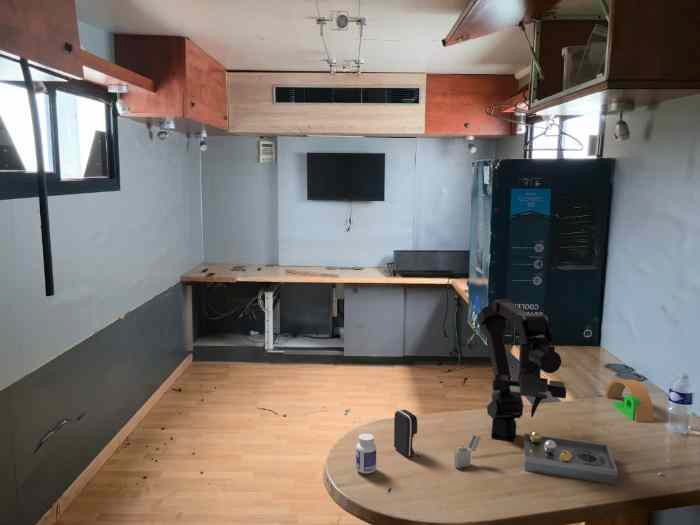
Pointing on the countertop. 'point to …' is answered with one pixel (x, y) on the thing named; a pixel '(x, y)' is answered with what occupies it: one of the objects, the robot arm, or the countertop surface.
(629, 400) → the mechanical part
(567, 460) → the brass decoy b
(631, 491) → the countertop surface
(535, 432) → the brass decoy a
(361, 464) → the pill bottle
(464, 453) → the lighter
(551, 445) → the steel ball
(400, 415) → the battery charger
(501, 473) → the countertop surface
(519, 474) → the countertop surface
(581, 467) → the tray
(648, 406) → the arch
